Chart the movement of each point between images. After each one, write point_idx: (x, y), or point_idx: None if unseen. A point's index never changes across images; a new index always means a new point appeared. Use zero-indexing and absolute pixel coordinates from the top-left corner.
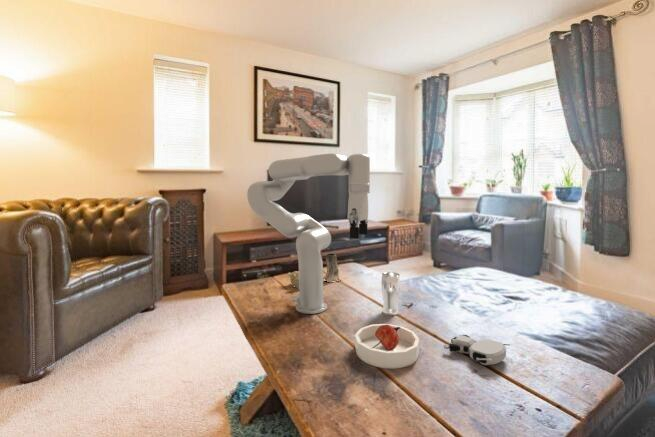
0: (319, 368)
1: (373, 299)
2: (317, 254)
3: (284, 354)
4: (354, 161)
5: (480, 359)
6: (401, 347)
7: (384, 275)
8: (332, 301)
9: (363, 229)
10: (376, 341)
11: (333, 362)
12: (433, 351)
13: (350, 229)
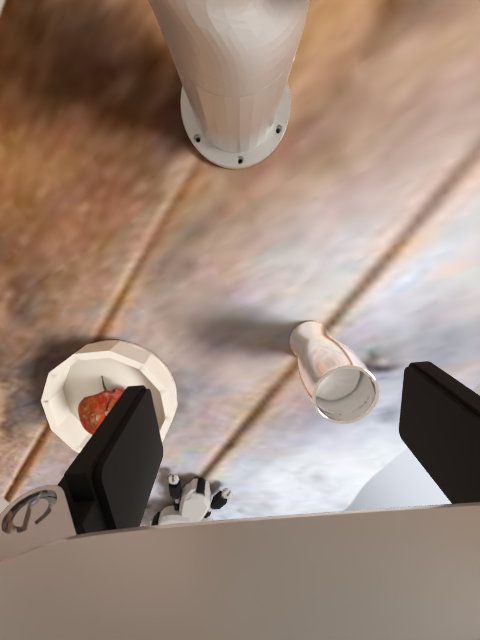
0: None
1: (389, 264)
2: (179, 24)
3: None
4: None
5: (149, 525)
6: None
7: (318, 382)
8: (323, 146)
9: (433, 443)
10: (131, 372)
11: (25, 327)
12: (169, 454)
13: (88, 453)
